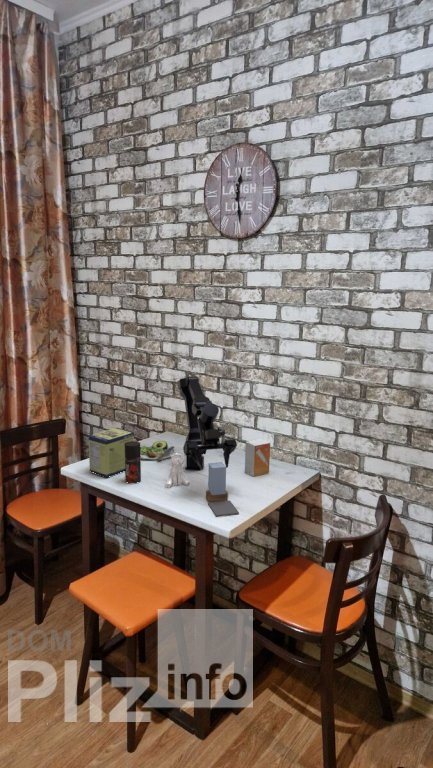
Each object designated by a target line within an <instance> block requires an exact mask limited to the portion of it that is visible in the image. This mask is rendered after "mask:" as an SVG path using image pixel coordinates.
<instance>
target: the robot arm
mask: <svg viewBox="0 0 433 768" xmlns="http://www.w3.org/2000/svg"><path fill="white" fill-rule="evenodd" d="M176 384H177V389H178V391H179V395H180V396H181V398H182V399H183V400H184V407H185V408H184V409H185V414H186V423H187V431H188V432H187V435H186V437H185V441H184V444H183V449H182V450H183V453H184V454H183V455H185V457H186V459H185V460H186V462H185V463H186V466H185V470H189V471H191V470H192V471H203V470H204V466H205V456H203V455H206V454H207V451H209V450H221V449H222V451H223V453H222V455H223V460H224V465H225V466H226V469H227V468H228V467H229V464H230V463H229V462H230V461H229V460H230V455H231V454H232V453H233V452H235V450H236V448H237V447H238V443H237V440H236V439H235V438H228V439H224V441H223V442H220V439H221V437H224V436H225V435H226V430H225V427H224V426H220V427H218V428H216V427H215V424H214V423H215V422H216V420H217V417H218V414H219V412H220V411H219V409H220V408H219V407H218V406H217V404H215V403H213V402H212V400H211V399H210V397H208V396H205V394H204V392H203V389H202V386H201V383H200V378H199V376H197V375H192V376H190V375H189V376H185V377H183V378H180V379H178V381H177V383H176ZM218 442H220V443H218Z"/></svg>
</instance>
